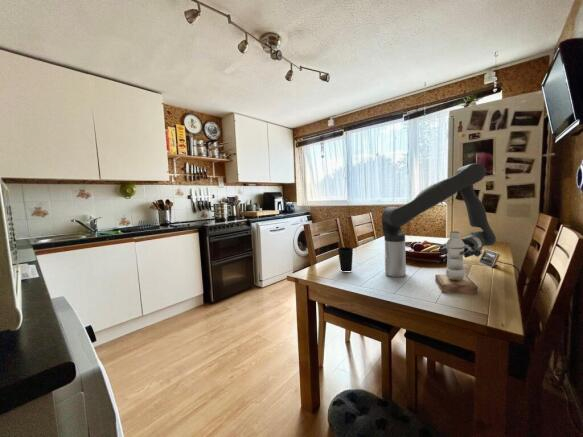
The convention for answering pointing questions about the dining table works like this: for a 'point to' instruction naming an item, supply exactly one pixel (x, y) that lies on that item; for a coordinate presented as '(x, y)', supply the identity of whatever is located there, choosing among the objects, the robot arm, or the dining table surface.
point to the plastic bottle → (455, 256)
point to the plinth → (456, 285)
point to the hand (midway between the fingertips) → (453, 253)
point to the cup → (345, 258)
